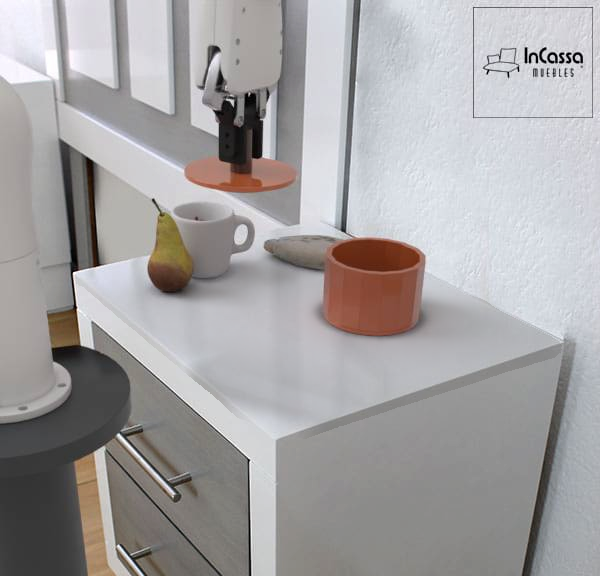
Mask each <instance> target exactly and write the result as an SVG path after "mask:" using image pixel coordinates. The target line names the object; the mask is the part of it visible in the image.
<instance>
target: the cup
mask: <svg viewBox="0 0 600 576" xmlns="http://www.w3.org/2000/svg"><path fill="white" fill-rule="evenodd" d="M170 216H171V217H172V218H173V219H174V221H175V223H176V224H177V227H178V229H179V232H180V234H181V237H182V240H183V243H184V245H185V248H186V250H187V251H188V253H189V254H190V256H191V258H192V261H193V264H194V269H193V275H192V277H191V278H196V279H211V278H212V279H213V278H217V277H220V276H222V275H224V274H225V273H227V271H228V269H229V267H230V263H231V258H232V256H233V255H235V254H241V253H244V252H247V251H248V250H250V249H251V247H252V245H253V244H254V241H255V237H256V236H255V235H256V230H255V225H254V223H253V221H252V220H251V219H250V218H248V217H247V216H243V215H240V214H238V215H237V214H236V213H235V211H234V209H233V208H231V207H230V206H228V205H227V204H224V203H220V202H213V201H191V202H184V203H181V204H178V205H176V206H174V207H173V208H172V209H171V211H170ZM241 225H244V226H245V227H246V229H247V235H246V239H245V240H244V242H243V243H241V244H237V243H236V241H235V234H236V231H237V229H238V227H240V226H241Z"/></svg>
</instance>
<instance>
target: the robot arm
mask: <svg viewBox="0 0 600 576" xmlns="http://www.w3.org/2000/svg"><path fill="white" fill-rule="evenodd" d="M194 34H195V35H194V58H193V59H194V64H193V65H194V67H193V68H194V69H193V71H194V76H193V77H194V84H195V87H196V89H198V90H200V91H202V92H203V93H202V98H201V103H202V104H203V106H206V107H207V108H209V109H210V110H212V112H213V113H214V120H215V122H216V123H217V124H218V157H219V160H220V161H222V162H227V163H231V164H236V165H244V164H246V162H247V126H250V127H252V128H253V158H254V159H259V158H263V153H264V152H263V150H264V147H263V146H264V119H265V118H266V117H267V104H268V102H269V100H270V96H271V95H272V94H273V92H274V91H275V90H276V89H277V87H278V81H279V80H280V77H281V73H282V62H283V9H282V0H198V2H197V9H196V20H195V33H194ZM231 100H232V101H233V104H232V102H231ZM28 110H29V109H28V108H27V106H26V103H25V102H24V100H23V98H22V97H21V95H20V94H19V92H18V91H17V90H16V88H15V87H14V86H13V85H12V84H11V83H10V81H8V80H7V79H6V78H5V77H3V76H2V75H1V74H0V424H7V423H15V422H21V421H25V420H30V419H33V418H36V417H39V416H42V415H44V414H46V413H49V412H51V411H53V410H54V409H56V408H57V407H59V406H60V405H61V404H62V403H64V402H65V401H66V400H67V398H68V397H69V395H70V393H71V390H72V384H71V377H70V374H69V373H68V371H67V370H66V369H65V368H64V367H62V366H61V365H60V364H58V363H55V362H53V358H52V350H51V348H52V343H51V335H50V328H49V320H48V311H47V303H46V296H45V287H44V280H43V272H42V264H41V256H40V248H39V240H38V233H37V223H36V217H35V216H36V215H35V204H34V187H33V186H34V185H33V184H34V178H33V177H34V173H33V172H34V154H35V153H34V152H35V137H34V128H33V124H32V119H31V116H30V113H29V111H28Z"/></svg>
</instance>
